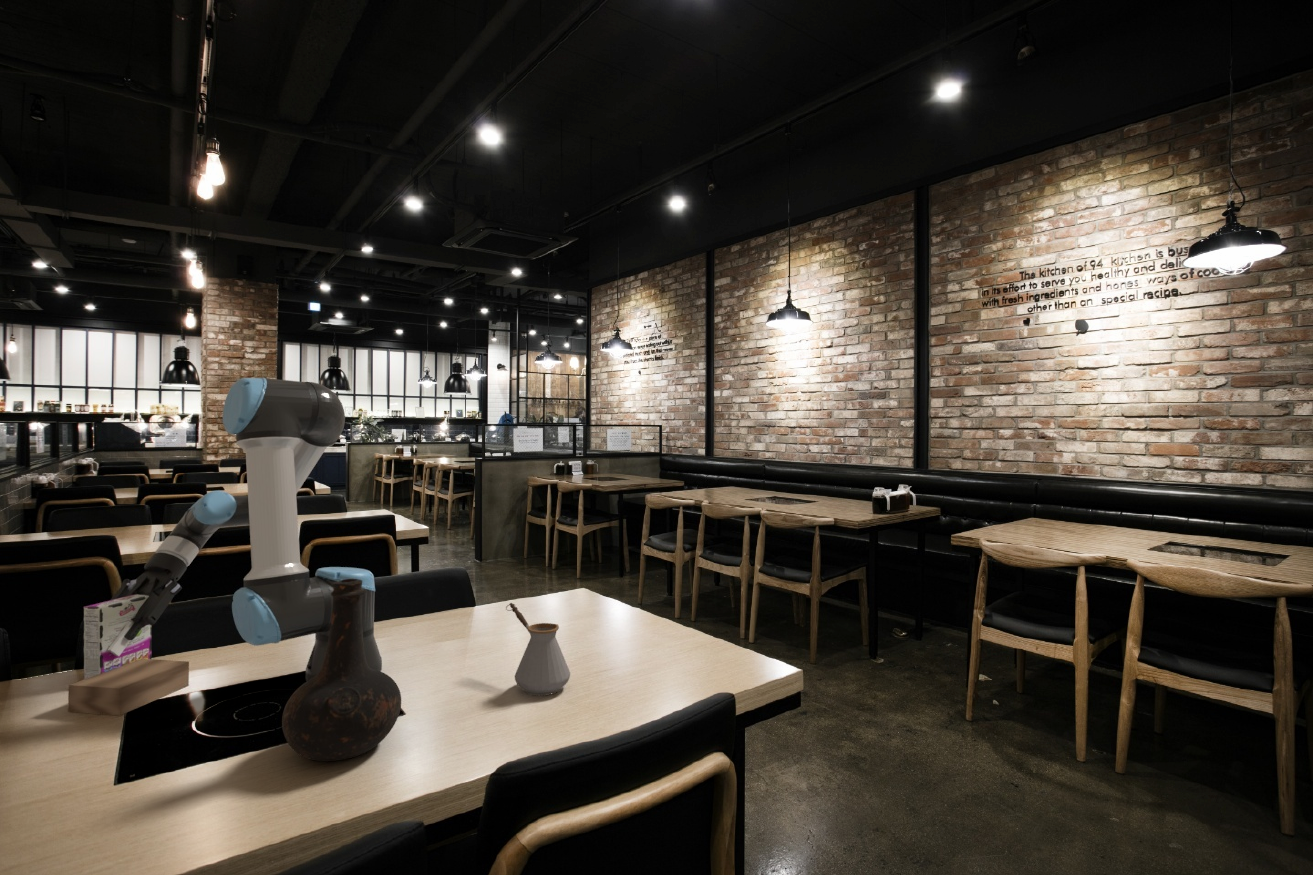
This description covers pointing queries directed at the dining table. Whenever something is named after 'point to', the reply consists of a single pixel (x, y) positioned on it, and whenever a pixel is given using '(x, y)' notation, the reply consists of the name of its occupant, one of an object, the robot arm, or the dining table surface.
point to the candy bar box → (113, 634)
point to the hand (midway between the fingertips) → (101, 652)
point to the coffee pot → (541, 660)
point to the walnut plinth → (128, 686)
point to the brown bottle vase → (342, 691)
